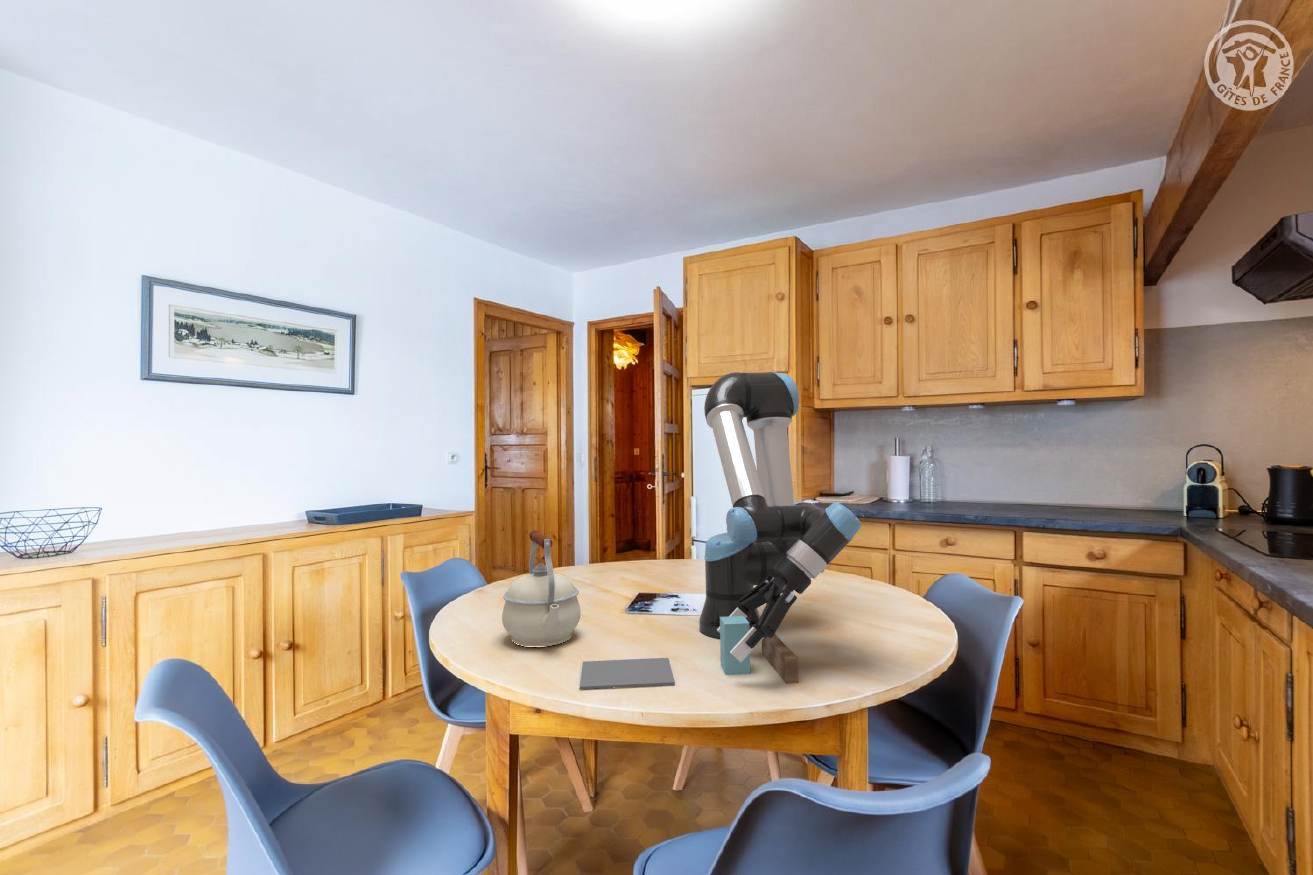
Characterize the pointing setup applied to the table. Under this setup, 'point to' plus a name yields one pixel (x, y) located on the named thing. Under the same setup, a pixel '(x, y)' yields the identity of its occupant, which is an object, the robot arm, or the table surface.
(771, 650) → the rail
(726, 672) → the block
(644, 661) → the mat
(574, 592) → the kettle
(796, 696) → the table surface
